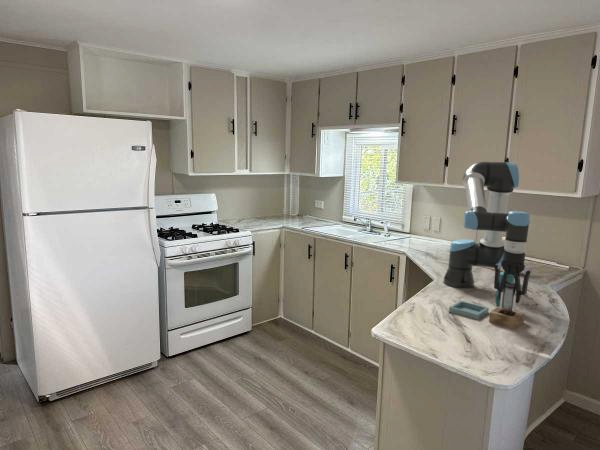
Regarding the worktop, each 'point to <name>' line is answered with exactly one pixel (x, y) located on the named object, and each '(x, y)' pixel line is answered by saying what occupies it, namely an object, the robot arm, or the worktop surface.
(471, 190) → the robot arm
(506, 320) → the socket block
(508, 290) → the steel pin
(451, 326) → the worktop surface
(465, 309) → the tray
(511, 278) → the beverage bottle
